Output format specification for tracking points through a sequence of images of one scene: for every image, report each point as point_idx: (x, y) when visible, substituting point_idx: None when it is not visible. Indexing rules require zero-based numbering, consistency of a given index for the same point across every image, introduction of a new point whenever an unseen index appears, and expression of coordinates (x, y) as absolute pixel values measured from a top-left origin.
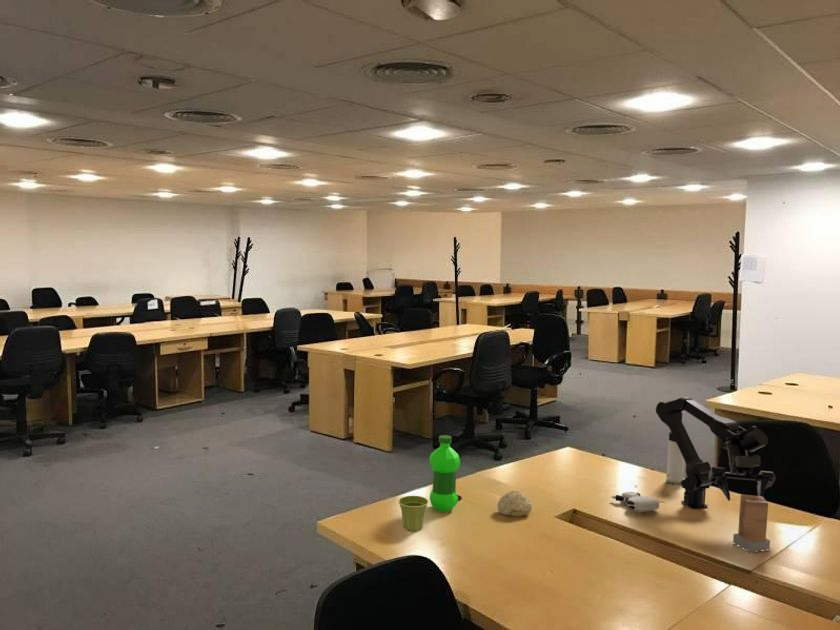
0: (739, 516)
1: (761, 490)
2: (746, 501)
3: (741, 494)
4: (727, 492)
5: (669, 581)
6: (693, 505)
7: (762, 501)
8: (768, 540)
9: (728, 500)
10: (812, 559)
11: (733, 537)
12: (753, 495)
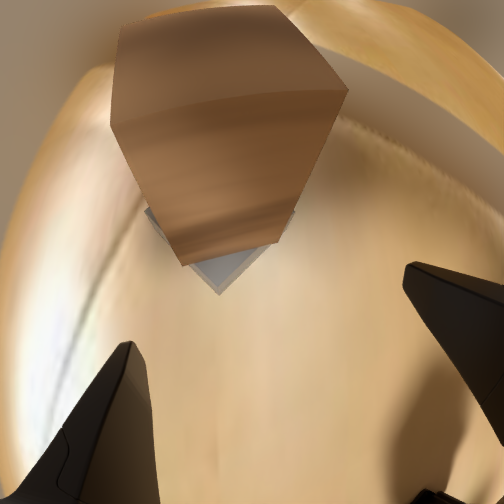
0: (294, 202)
1: (82, 440)
2: (274, 6)
3: (342, 89)
4: (463, 278)
5: (355, 35)
6: (426, 501)
7: (153, 28)
8: (150, 209)
9: (409, 279)
10: (42, 224)
11: (291, 218)
12: (211, 101)
